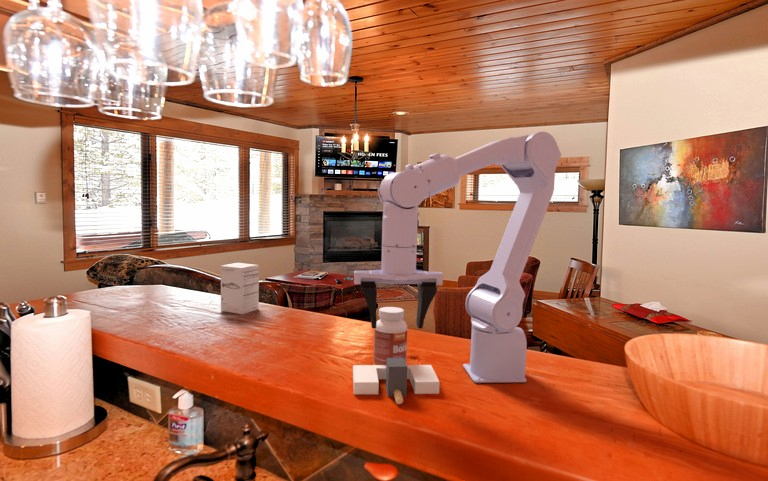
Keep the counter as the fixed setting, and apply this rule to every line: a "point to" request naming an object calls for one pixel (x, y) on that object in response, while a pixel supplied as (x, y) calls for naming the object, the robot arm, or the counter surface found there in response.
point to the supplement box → (239, 288)
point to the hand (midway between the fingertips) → (396, 326)
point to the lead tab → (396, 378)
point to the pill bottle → (390, 335)
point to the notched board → (369, 375)
